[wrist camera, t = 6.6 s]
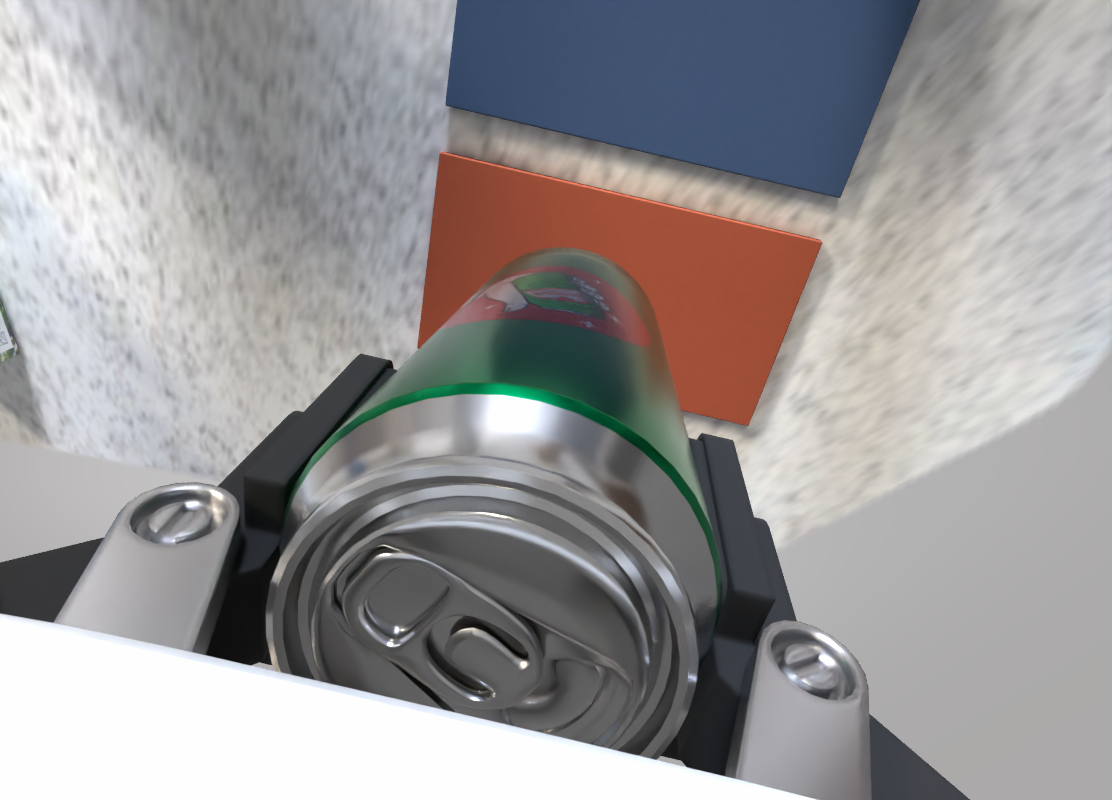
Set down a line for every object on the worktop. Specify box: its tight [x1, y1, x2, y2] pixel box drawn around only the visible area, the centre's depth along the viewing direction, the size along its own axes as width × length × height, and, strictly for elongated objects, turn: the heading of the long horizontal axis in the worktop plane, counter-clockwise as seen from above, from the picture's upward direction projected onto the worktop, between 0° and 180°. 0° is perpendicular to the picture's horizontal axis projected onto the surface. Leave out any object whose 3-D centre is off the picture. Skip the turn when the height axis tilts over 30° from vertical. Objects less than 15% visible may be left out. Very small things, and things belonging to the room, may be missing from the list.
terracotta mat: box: [417, 152, 822, 426], centre depth 32 cm, size 18×10×1 cm, turn 78°
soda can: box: [266, 247, 722, 760], centre depth 12 cm, size 5×5×12 cm
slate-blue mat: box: [446, 0, 920, 198], centre depth 27 cm, size 18×10×1 cm, turn 78°
